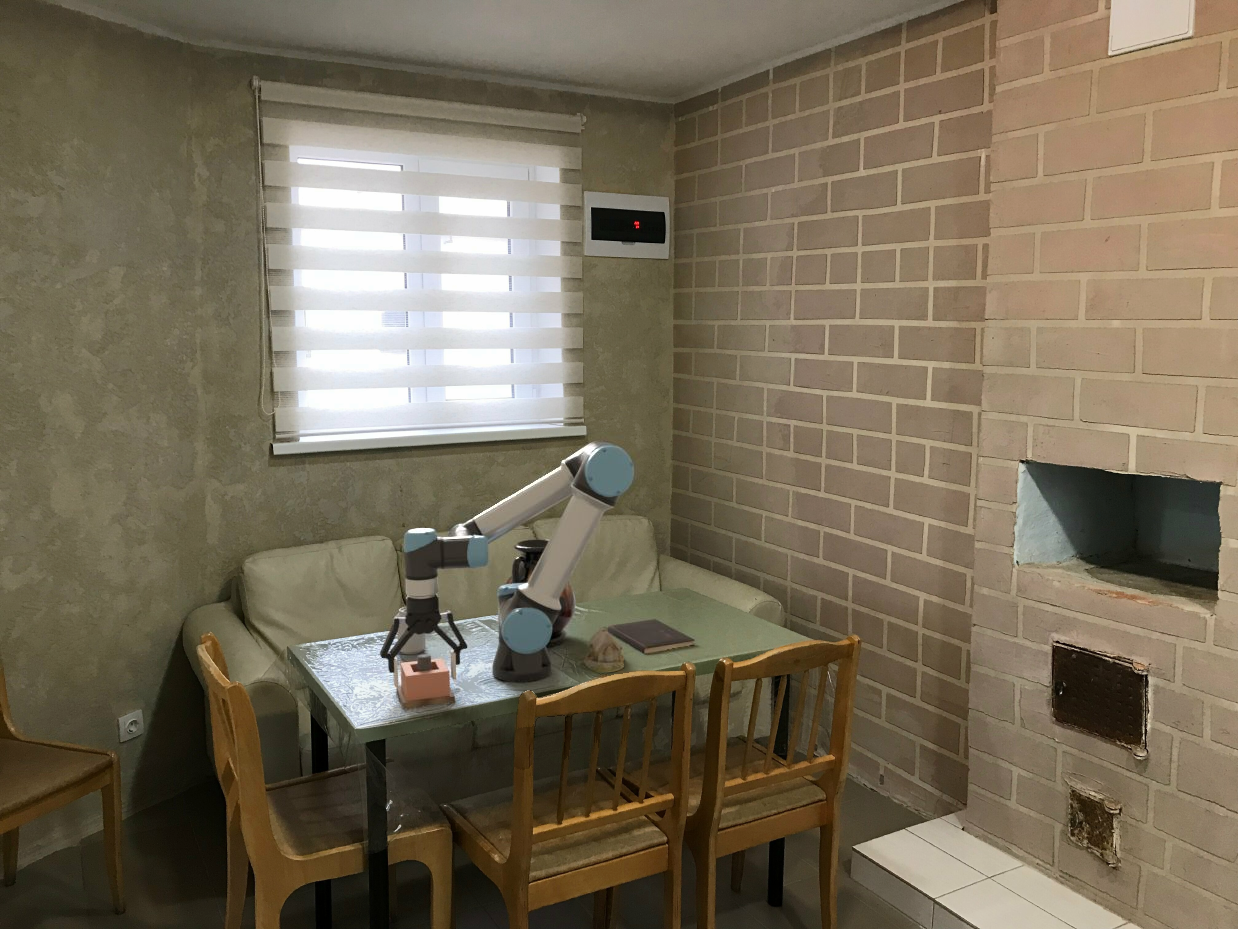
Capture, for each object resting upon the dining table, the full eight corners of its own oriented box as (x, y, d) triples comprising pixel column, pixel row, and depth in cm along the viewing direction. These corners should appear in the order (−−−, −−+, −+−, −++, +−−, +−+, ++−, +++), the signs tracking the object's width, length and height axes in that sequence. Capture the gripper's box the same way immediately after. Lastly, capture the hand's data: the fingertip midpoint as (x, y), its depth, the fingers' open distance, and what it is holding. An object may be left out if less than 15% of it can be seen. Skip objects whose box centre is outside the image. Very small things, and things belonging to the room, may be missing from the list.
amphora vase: (541, 657, 260) (539, 554, 257) (484, 642, 273) (481, 545, 270) (591, 637, 277) (590, 541, 274) (535, 625, 290) (533, 533, 287)
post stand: (446, 685, 239) (445, 646, 238) (455, 702, 228) (453, 661, 226) (396, 692, 235) (395, 652, 234) (403, 709, 224) (401, 667, 222)
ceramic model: (579, 657, 260) (579, 621, 259) (620, 654, 263) (620, 618, 262) (590, 675, 247) (589, 636, 245) (633, 671, 249) (632, 633, 248)
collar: (442, 681, 237) (442, 658, 237) (450, 695, 228) (449, 671, 227) (401, 687, 234) (400, 662, 233) (406, 701, 225) (406, 676, 224)
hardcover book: (655, 626, 290) (655, 619, 290) (694, 647, 270) (694, 639, 269) (607, 633, 283) (607, 626, 283) (643, 656, 263) (643, 647, 262)
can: (411, 645, 272) (409, 603, 270) (431, 649, 268) (430, 607, 266) (392, 652, 265) (390, 609, 264) (412, 657, 261) (411, 613, 260)
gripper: (471, 585, 236) (473, 670, 238) (366, 595, 227) (369, 683, 230) (477, 593, 229) (480, 680, 231) (369, 603, 220) (373, 693, 223)
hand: (425, 681), depth 231 cm, fingers open, 13 cm apart
